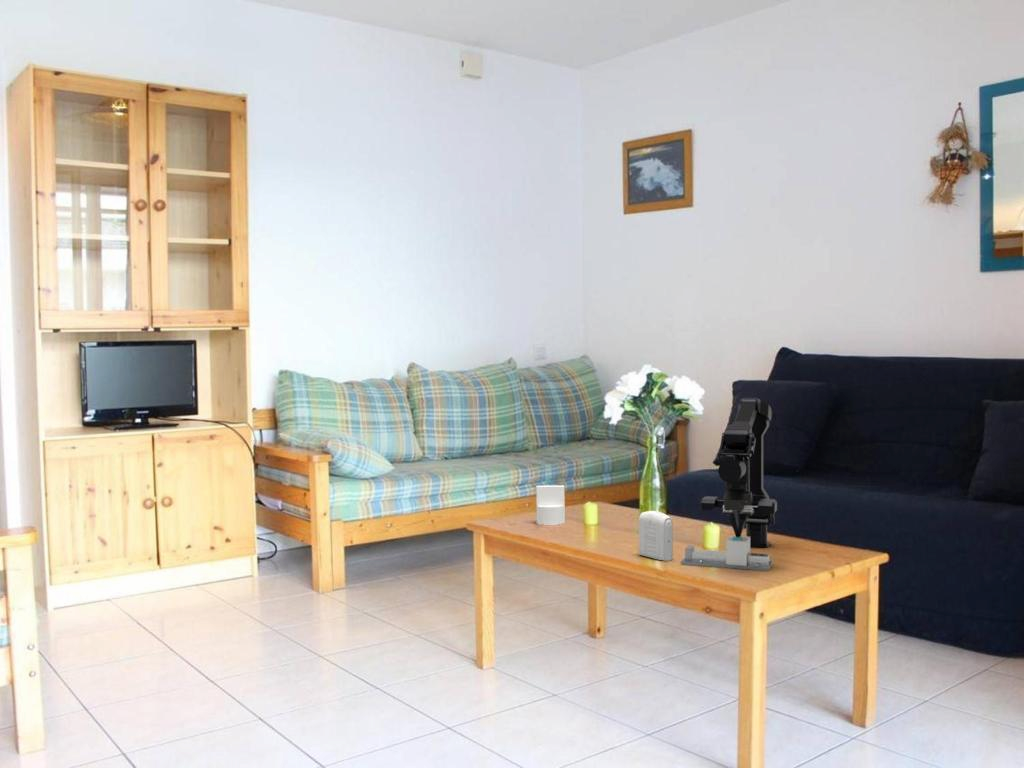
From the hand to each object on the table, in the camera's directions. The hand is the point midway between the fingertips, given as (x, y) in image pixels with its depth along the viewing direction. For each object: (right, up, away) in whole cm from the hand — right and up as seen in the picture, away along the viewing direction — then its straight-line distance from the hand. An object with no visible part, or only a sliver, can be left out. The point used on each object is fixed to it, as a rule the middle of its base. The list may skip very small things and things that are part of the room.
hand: (738, 538), depth 248 cm
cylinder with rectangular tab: (-46, -5, +61) cm, 76 cm away
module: (0, -6, 0) cm, 6 cm away
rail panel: (-3, -7, +1) cm, 8 cm away
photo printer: (-20, -7, +10) cm, 23 cm away
